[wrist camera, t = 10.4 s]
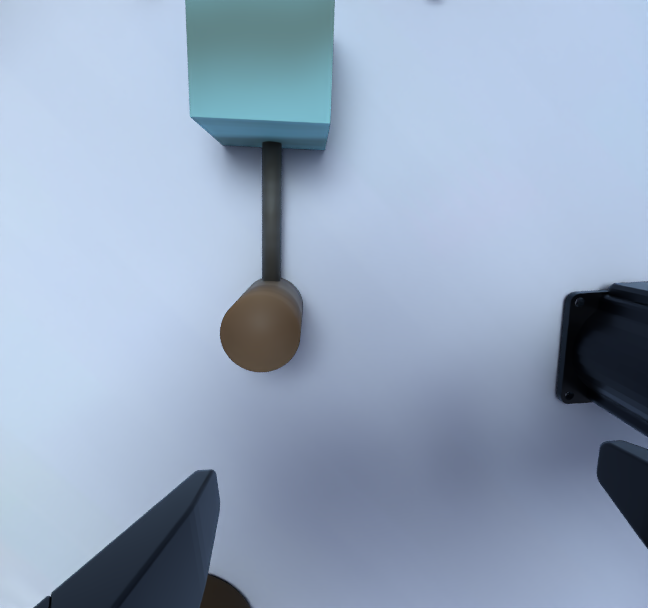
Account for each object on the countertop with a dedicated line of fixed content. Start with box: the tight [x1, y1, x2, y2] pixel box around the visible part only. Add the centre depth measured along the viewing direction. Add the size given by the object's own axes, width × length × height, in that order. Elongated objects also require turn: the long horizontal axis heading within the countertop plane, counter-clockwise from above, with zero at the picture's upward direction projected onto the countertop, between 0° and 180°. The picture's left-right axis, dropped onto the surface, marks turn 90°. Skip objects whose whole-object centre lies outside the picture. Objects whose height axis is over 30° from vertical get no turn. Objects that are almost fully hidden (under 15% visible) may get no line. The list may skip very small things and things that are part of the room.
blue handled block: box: [185, 0, 335, 372], centre depth 16 cm, size 15×5×5 cm, turn 178°
